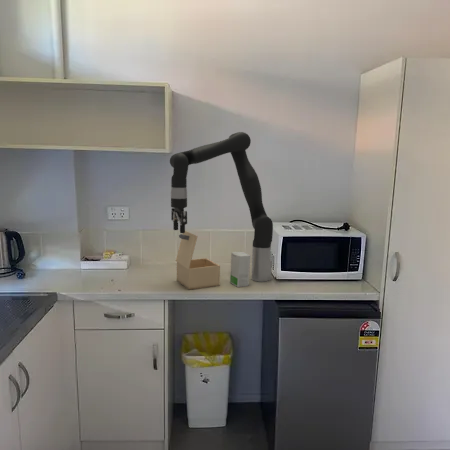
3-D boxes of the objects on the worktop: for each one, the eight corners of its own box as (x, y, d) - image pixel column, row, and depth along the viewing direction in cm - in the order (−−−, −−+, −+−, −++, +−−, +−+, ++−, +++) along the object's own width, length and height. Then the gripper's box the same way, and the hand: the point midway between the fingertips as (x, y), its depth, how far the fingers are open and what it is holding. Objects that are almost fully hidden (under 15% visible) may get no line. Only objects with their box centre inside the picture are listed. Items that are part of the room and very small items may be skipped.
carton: (205, 276, 212) (206, 258, 211) (219, 285, 198) (220, 265, 197) (176, 280, 205) (176, 261, 203) (189, 289, 191) (189, 269, 189)
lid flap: (184, 230, 203) (175, 228, 200) (197, 236, 189) (187, 233, 186) (176, 261, 203) (167, 259, 201) (189, 269, 189) (178, 267, 187)
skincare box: (229, 282, 203) (230, 252, 201) (241, 281, 206) (242, 251, 204) (238, 287, 196) (238, 255, 193) (249, 285, 199) (250, 254, 196)
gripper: (192, 198, 186) (192, 233, 188) (180, 195, 198) (180, 228, 201) (176, 198, 182) (177, 234, 185) (166, 196, 195) (166, 229, 197)
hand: (179, 231), depth 193 cm, fingers open, 8 cm apart
